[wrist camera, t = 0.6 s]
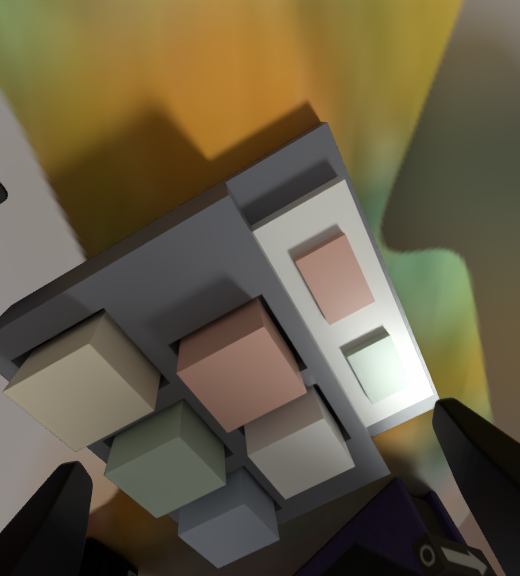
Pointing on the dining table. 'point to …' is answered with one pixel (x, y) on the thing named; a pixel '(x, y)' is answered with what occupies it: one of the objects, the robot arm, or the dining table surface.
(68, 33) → the dining table surface
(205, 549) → the key slate
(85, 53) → the dining table surface
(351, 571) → the book
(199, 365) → the key terracotta
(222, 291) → the keypad console
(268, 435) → the light grey key
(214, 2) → the dining table surface
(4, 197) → the calculator
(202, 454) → the key sage
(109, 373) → the key sand
